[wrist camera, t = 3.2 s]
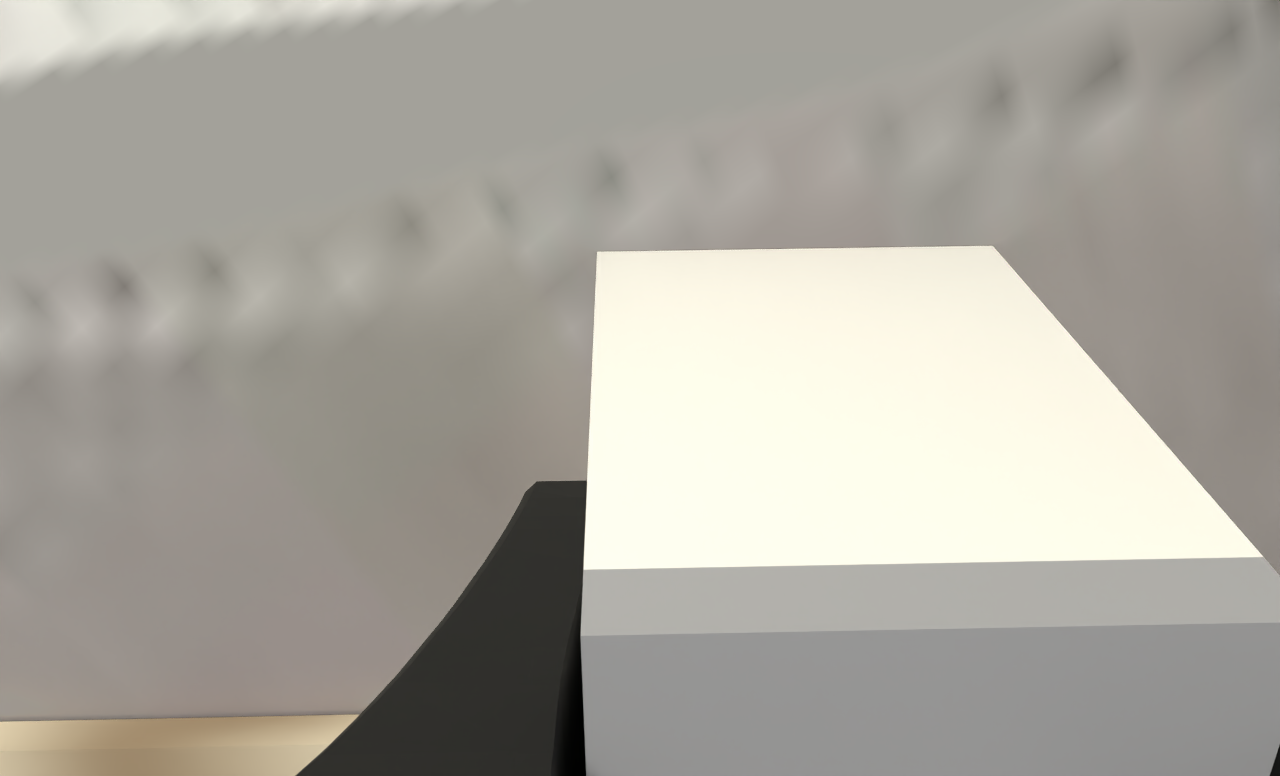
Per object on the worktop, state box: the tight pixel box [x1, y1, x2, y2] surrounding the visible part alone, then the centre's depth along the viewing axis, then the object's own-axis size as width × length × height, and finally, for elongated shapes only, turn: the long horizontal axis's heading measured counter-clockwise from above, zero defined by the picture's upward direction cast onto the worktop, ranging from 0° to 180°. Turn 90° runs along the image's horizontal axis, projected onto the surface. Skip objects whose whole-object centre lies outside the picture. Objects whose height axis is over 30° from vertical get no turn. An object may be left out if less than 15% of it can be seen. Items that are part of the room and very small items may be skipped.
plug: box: [581, 246, 1280, 776], centre depth 10 cm, size 4×5×6 cm
